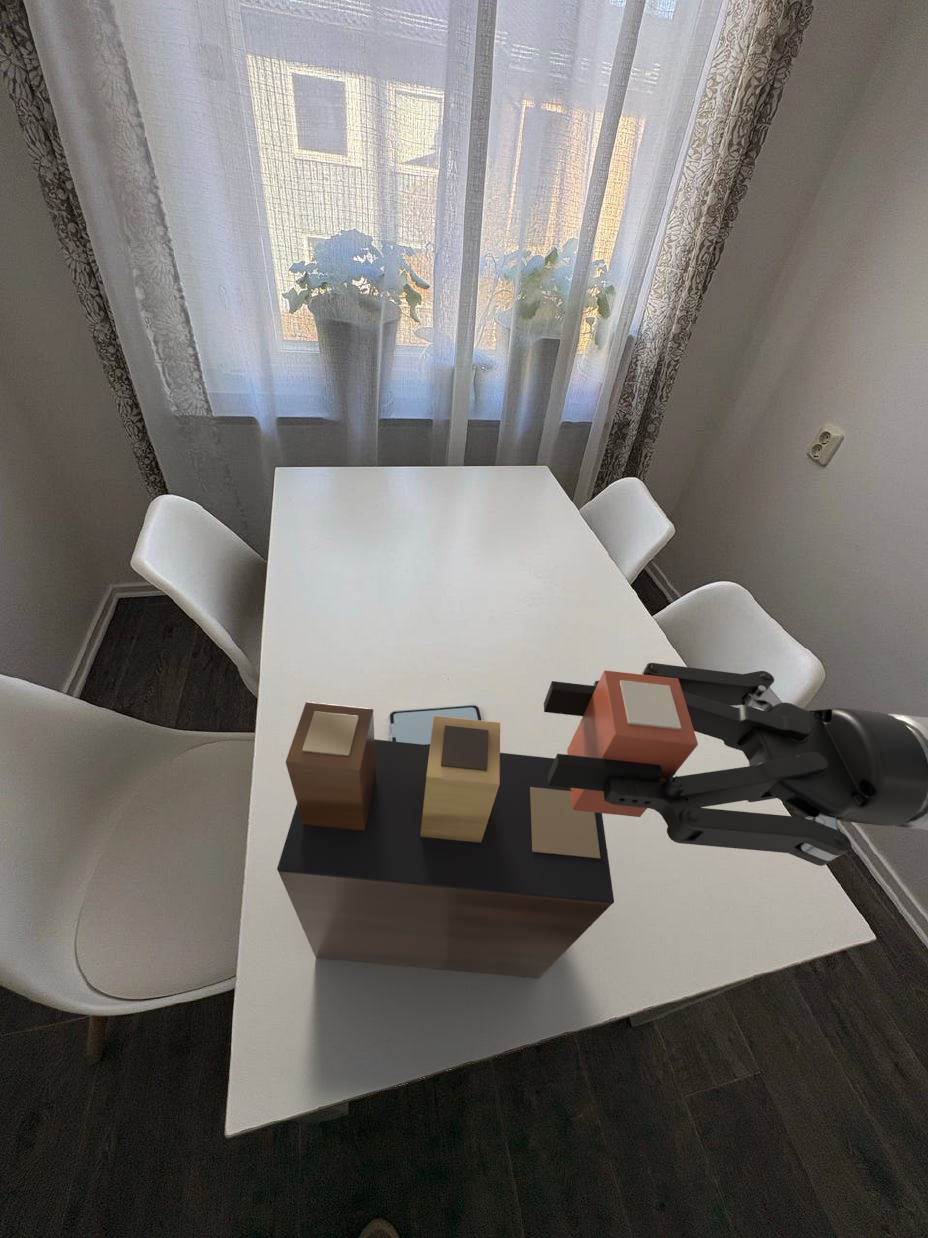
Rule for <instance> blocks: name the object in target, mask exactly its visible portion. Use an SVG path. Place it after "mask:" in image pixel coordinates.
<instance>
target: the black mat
mask: <svg viewBox="0 0 928 1238" xmlns="http://www.w3.org/2000/svg"><path fill="white" fill-rule="evenodd" d="M374 742H375V766H376V777H375V782H374V787H373V792H372V797H371V802H370V807H369V812H368V817H367V823H366V828H365V831H361V830H351V829H341V828H331V827H321V826H311V825H303V822H302V818H301V815H300V811H299V808H298V804H297V803H296V805H295V808H294V811H293V815H292V817H291V821H290V825H289V828H288V831H287V834H286V837H285V841H284V844H283V848H282V851H281V854H280V858H279V861H278V864H277V868H276V871H277V872H278V871H282V872H292V873H303V874H313V875H323V876H333V877H344V878H354V879H364V880H374V881H385V882H395V883H405V884H416V885H426V886H436V887H446V888H457V889H467V890H477V891H487V892H498V893H508V894H518V895H528V896H539V897H549V898H559V899H569V900H580V901H590V902H600V903H610V904H612V905H613V904H614V903H615V898H614V889H613V883H612V882H613V881H612V876H611V869H610V860H609V854H608V846H607V839H606V831H605V826H604V818H603V813H595V812H586V811H577V810H573V807H572V796H571V788H568V787H558V786H549V784H548V774H549V771H550V769H551V767H552V765H553V762H554V760H555V758H556V757H555V758H554V757H545V756H535V755H527V754H517V753H507V752H500V785H499V788H498V791H497V794H496V797H495V801H494V804H493V807H492V810H491V813H490V816H489V819H488V823H487V826H486V829H485V832H484V835H483V838H482V842H481V843H480V842H470V841H460V840H450V839H440V838H430V837H421V836H420V834H421V825H422V815H423V805H424V795H425V785H426V776H427V767H428V759H429V751H430V745H423V744H414V743H405V742H395V741H391V740H387V739H386V740H384V739H376V738H374Z"/></svg>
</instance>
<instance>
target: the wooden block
mask: <svg viewBox="0 0 928 1238" xmlns="http://www.w3.org/2000/svg"><path fill="white" fill-rule="evenodd" d="M374 719H375V718H374V709H373V708H368V707H367V708H366V707H360V706H349V705H340V704H330V703H322V702H311V701H305V703H304V707H303V710H302V712H301V715H300V718H299V720H298V724H297V727H296V730H295V733H294V735H293V738H292V741H291V745H290V748H289V750H288V754H287V756H286V759H285V765H286V769H287V771H288V773H287V774H288V776H289V779H290V783H291V786H292V787H291V788H292V790H293V793H294V794H293V795H294V797H295V801H296V805H297V804H298V808H299V811H300V815H301V818H302V822H303V825H311V826H321V827H331V828H341V829H351V830H361V831H365V828H366V823H367V817H368V812H369V807H370V802H371V797H372V792H373V787H374V782H375V777H376V766H375V742H374V739H375V722H374V721H375V720H374Z"/></svg>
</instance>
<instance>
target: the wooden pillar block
mask: <svg viewBox="0 0 928 1238" xmlns="http://www.w3.org/2000/svg"><path fill="white" fill-rule="evenodd" d="M500 753H501V722H497V721H490V720H483V721H481V720H471V719H462V718H453V717H444V716H434V717H433V726H432V734H431V742H430V751H429V759H428V767H427V776H426V785H425V795H424V805H423V815H422V825H421V834H420V836H421V837H430V838H440V839H450V840H460V841H470V842H480V843H481V842H482V838H483V835H484V832H485V829H486V826H487V823H488V819H489V816H490V813H491V810H492V807H493V804H494V801H495V797H496V794H497V791H498V788H499V785H500Z"/></svg>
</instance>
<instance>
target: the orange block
mask: <svg viewBox="0 0 928 1238" xmlns="http://www.w3.org/2000/svg"><path fill="white" fill-rule="evenodd" d="M641 674H642V673H641ZM641 674H640V673H632V672H624V671H616V670H615V671H613V670H603V672H602V674H601V676H600V678H599V680H598V681H599V683H598V685H597V687H596V689H595V691H594V693H593V695H592V698H591V700H590V702H589V704H588V706H587V708H586V711H585V713H584V715H583V716H581V719H580V721H579V724H578V725H577V727H576V730H575V732H574V734H573V737H572V739H571V741H570V743H569V745H568V747H567V750H566V752H567V755H575V756H584V757H593V758H603V759H609V760H619V761H628V762H637V763H646V764H655V765H660V766H661V770H662V775H663V776H662V778H661V779H660V780H659V781H666V780H667V778H668V777H669V776H670V774H671V773H673V772H675V773H677V772H678V771H679V769H680V768H681V767H682V766H683V764H684V763H685V761H687V759H688V758H689V757H690V755H691V754H692V753H693V752H694V751H695V749H696V748H697V747H698V745H699V743H698V739H697V737H696V733H695V732H696V731H694V729H693V726H692V722H691V719H690V716H689V713H688V709H687V706H686V703H685V699H684V696H683V693H682V689H681V686H680V683H679V679H676V678H668V677H659V676H650V675H641ZM571 796H572V807H573V810H577V811H586V812H595V813H602V814H606V815H615V816H625V817H633V818H641V817H642V816H643V814H644V813H645V812H646V811H647V809H648V808H641V807H632V806H623V805H613V804H611V803H609V802H607V801H605V799H604V792H603V791H595V790H586V789H577V788H571Z"/></svg>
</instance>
